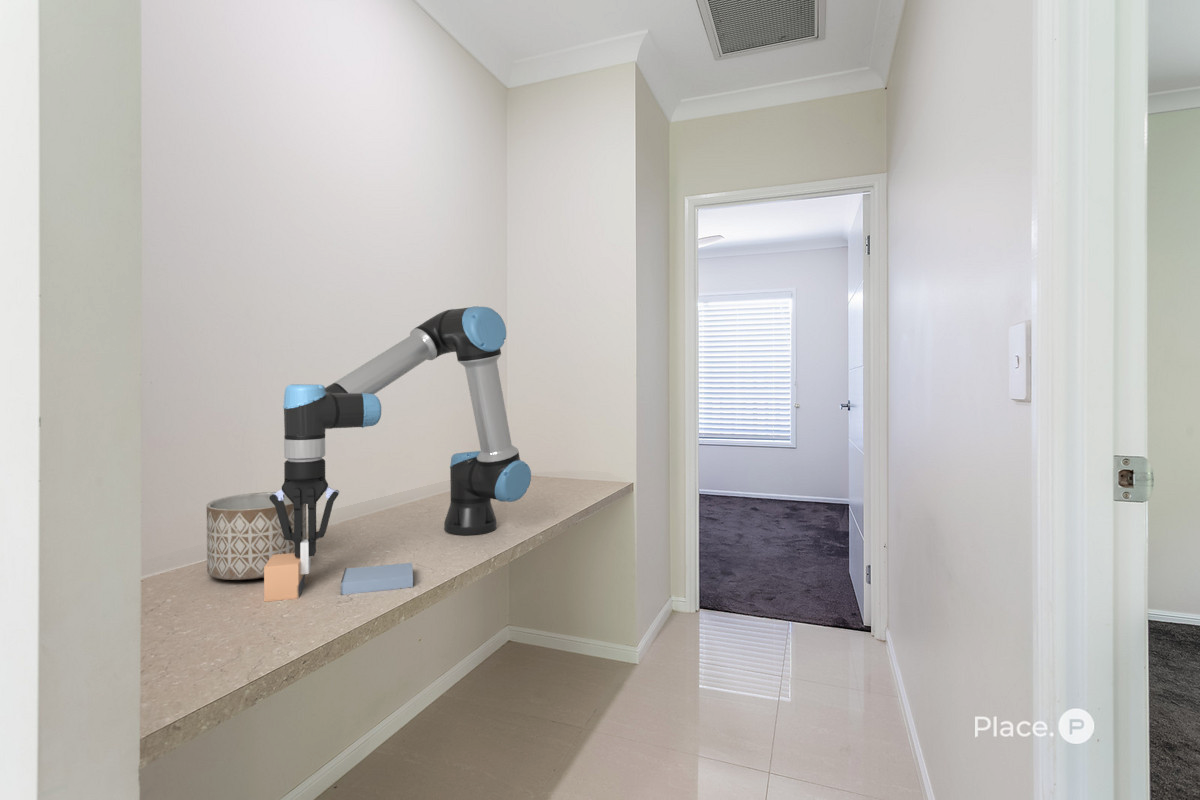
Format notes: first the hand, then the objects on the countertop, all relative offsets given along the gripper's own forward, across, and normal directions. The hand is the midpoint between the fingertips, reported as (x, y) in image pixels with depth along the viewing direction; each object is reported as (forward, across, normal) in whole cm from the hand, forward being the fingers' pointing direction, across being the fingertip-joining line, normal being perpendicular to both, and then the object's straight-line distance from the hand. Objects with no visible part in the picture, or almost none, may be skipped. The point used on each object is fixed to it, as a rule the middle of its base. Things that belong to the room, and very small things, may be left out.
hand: (305, 571), depth 117 cm
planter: (+4, +12, -16) cm, 20 cm away
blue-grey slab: (+4, -14, 0) cm, 15 cm away
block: (+4, +4, 0) cm, 5 cm away
